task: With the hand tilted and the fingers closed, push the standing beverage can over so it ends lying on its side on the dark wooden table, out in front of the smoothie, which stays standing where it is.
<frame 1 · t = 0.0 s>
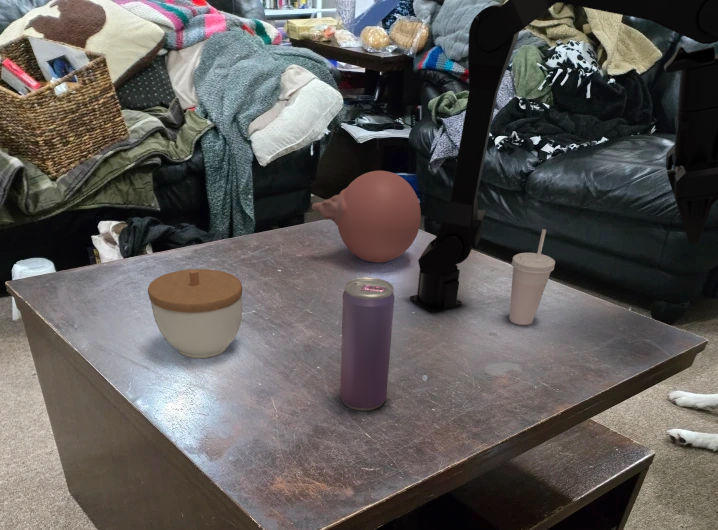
hand: (690, 233, 90), 15 cm above the table, tool pointing down, fingers open, 9 cm apart
lidded bowl: (202, 348, 93), on the table
balloon: (364, 260, 122), on the table
smoothie: (520, 321, 103), on the table
beverage can: (362, 401, 82), on the table
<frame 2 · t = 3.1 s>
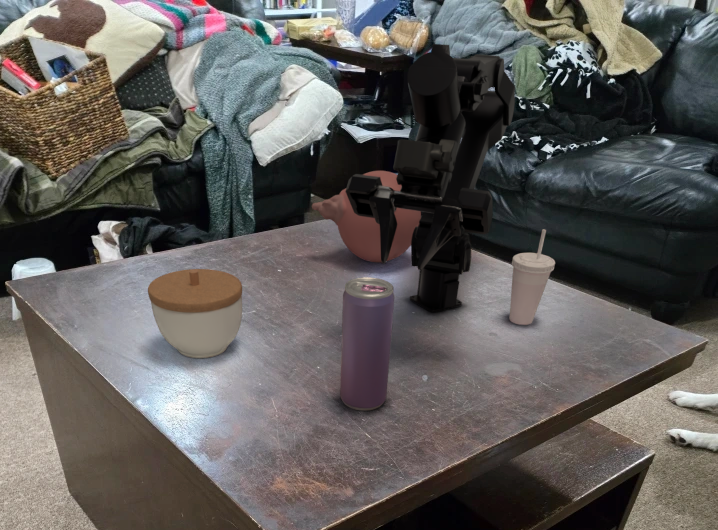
hand: (400, 265, 82), 14 cm above the table, tool tilted 45°, fingers open, 5 cm apart
nothing on the table moved.
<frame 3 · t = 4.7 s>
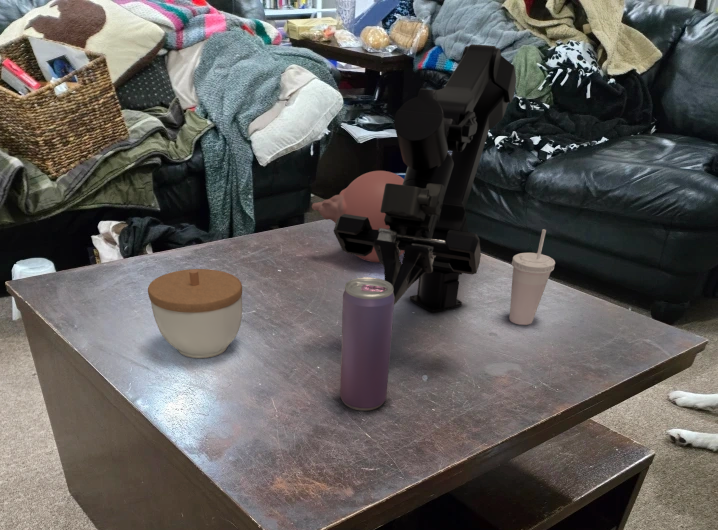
hand: (388, 305, 82), 10 cm above the table, tool tilted 45°, fingers closed
nothing on the table moved.
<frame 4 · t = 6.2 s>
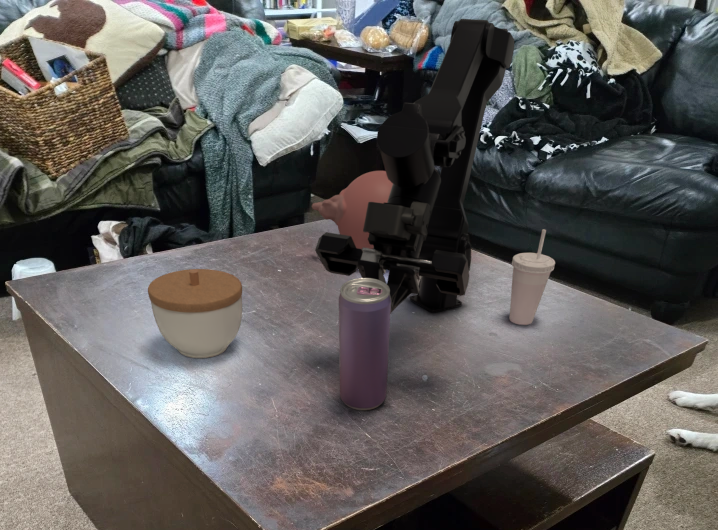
hand: (372, 328, 78), 9 cm above the table, tool tilted 45°, fingers closed
beverage can: (363, 399, 82), on the table, touching gripper
everything else where it was.
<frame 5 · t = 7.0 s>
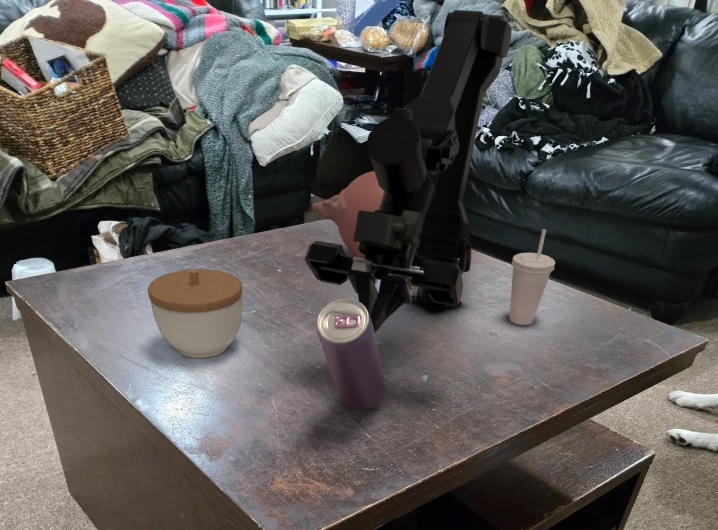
hand: (363, 339, 76), 9 cm above the table, tool tilted 45°, fingers closed
beverage can: (362, 392, 81), point 1 cm above the table
everything else where it was.
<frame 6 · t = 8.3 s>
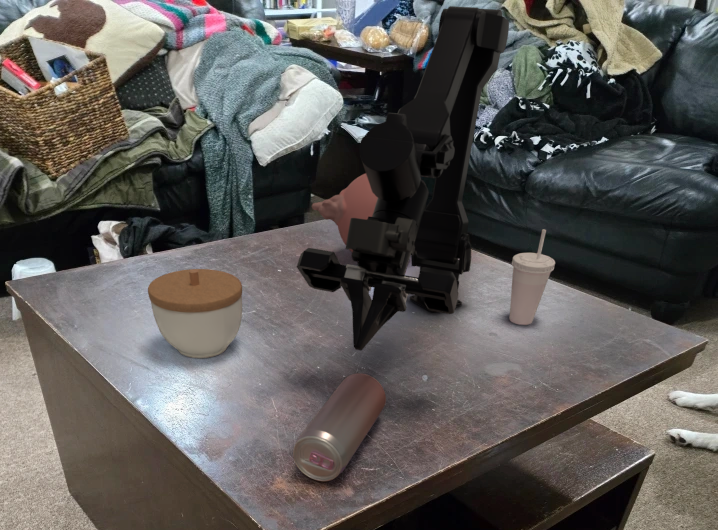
hand: (357, 348, 75), 9 cm above the table, tool tilted 45°, fingers closed
beverage can: (365, 392, 78), point 3 cm above the table
everything else where it was.
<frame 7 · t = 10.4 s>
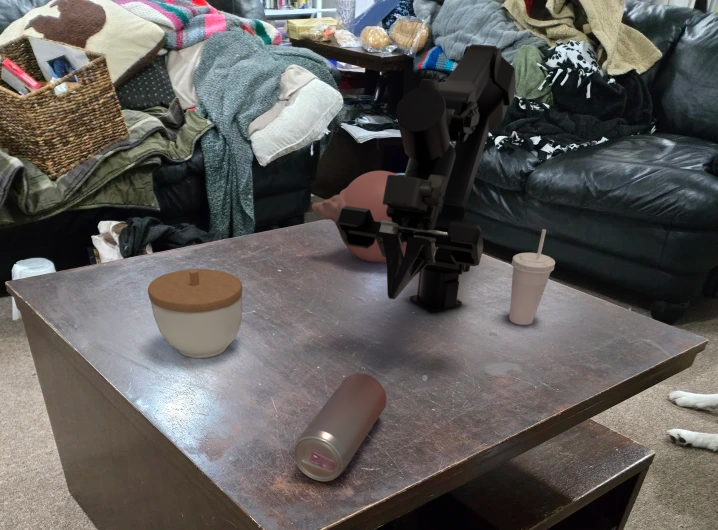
hand: (391, 297, 82), 10 cm above the table, tool tilted 45°, fingers closed
nothing on the table moved.
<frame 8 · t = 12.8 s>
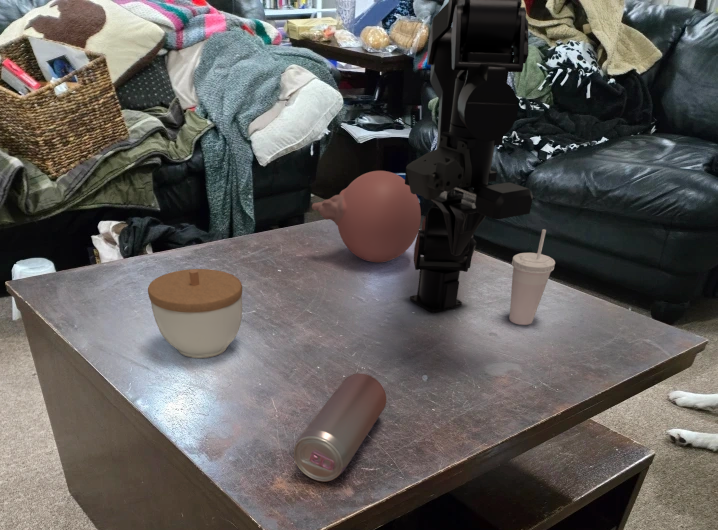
hand: (455, 254, 88), 13 cm above the table, tool pointing down, fingers closed
nothing on the table moved.
at the end: beverage can tilted 90°; beverage can inside the target area (2.4 cm from its centre), point 3.0 cm above the table; smoothie moved 0.2 cm from its start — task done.
